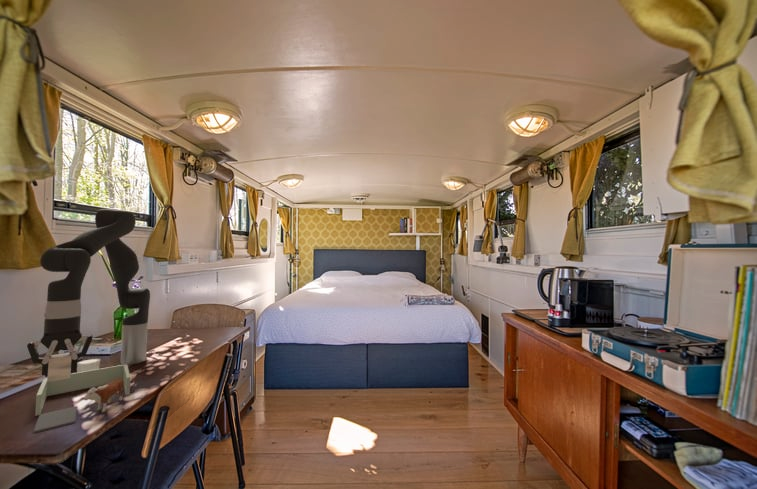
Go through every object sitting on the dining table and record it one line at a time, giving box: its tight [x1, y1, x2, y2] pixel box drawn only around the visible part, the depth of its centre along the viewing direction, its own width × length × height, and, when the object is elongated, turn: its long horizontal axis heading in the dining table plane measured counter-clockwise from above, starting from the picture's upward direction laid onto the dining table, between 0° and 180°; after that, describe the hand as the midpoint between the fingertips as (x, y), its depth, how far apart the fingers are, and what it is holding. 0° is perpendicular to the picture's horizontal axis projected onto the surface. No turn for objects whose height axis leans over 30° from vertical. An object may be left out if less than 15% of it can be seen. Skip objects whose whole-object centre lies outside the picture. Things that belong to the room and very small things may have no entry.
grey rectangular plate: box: [33, 405, 78, 434], centre depth 90 cm, size 12×8×1 cm, turn 42°
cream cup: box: [77, 358, 101, 372], centre depth 120 cm, size 7×7×7 cm
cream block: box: [47, 352, 72, 382], centre depth 91 cm, size 5×5×6 cm
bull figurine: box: [83, 378, 124, 413], centre depth 98 cm, size 4×13×8 cm, turn 4°
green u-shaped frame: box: [34, 364, 131, 417], centre depth 106 cm, size 18×22×6 cm
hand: (59, 373), depth 91 cm, fingers closed on cream block, 4 cm apart
